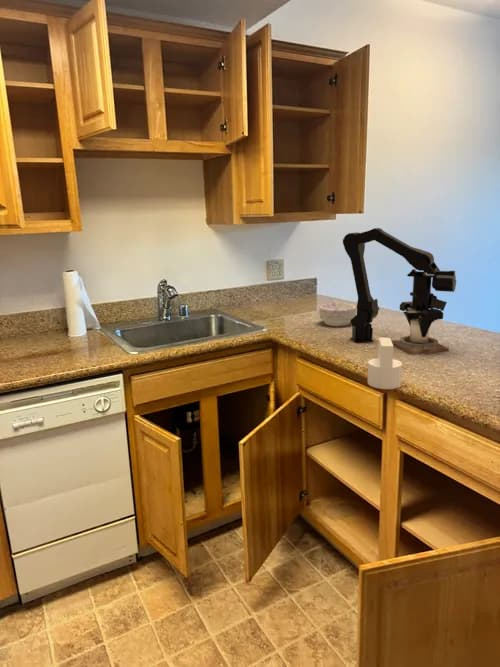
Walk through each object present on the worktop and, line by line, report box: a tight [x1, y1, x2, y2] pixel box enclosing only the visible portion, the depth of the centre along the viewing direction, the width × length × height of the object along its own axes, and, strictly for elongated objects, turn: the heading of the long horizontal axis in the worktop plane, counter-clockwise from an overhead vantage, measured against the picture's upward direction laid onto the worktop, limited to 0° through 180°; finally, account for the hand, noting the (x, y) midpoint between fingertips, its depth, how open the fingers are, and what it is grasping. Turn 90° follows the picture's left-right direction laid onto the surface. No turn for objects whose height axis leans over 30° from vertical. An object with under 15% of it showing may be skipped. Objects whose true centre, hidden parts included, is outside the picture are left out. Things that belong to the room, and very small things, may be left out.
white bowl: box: [318, 302, 357, 327], centre depth 202 cm, size 15×15×8 cm
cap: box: [409, 319, 430, 343], centre depth 164 cm, size 6×6×7 cm
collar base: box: [391, 335, 450, 355], centre depth 165 cm, size 14×14×2 cm
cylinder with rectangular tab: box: [367, 337, 403, 390], centre depth 131 cm, size 9×9×12 cm
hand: (419, 334), depth 164 cm, fingers closed on cap, 6 cm apart
